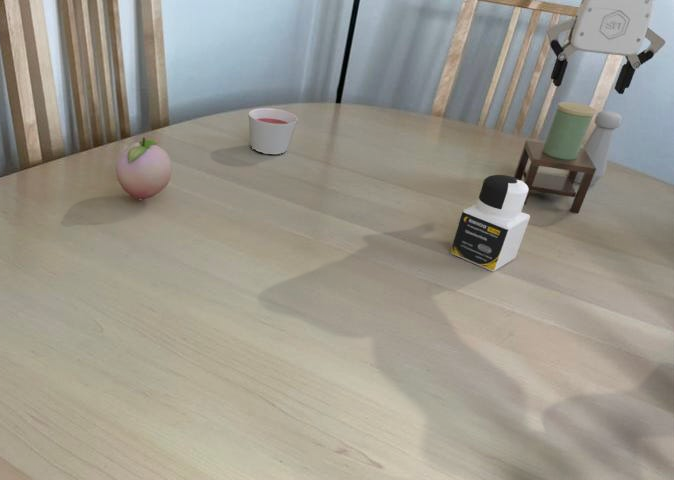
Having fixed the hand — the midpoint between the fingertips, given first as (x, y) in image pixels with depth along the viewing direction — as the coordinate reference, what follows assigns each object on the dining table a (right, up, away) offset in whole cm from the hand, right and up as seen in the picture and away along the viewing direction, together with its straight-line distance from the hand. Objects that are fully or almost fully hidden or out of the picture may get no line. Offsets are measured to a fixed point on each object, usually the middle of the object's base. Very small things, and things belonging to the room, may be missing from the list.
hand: (587, 88), depth 121 cm
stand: (-2, -16, +11) cm, 19 cm away
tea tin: (-1, -9, +6) cm, 11 cm away
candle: (-50, -5, +20) cm, 54 cm away
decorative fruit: (-72, -19, -4) cm, 75 cm away
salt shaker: (+9, -11, +20) cm, 24 cm away
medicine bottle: (-21, -29, -11) cm, 37 cm away
